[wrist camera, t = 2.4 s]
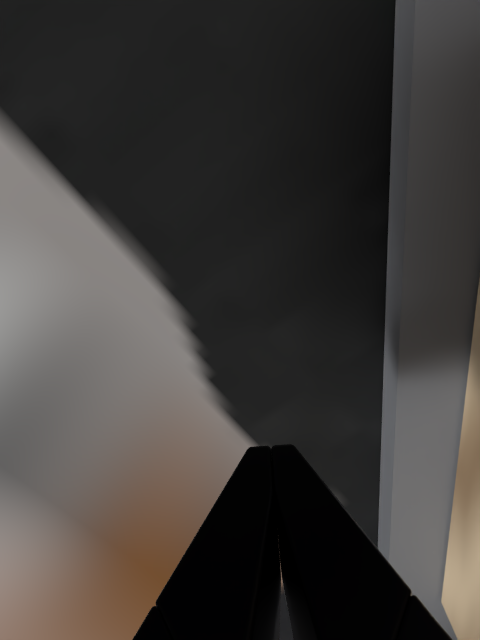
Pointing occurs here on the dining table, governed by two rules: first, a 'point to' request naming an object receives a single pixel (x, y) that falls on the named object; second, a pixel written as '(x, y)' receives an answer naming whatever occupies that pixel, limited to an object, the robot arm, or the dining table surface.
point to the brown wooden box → (466, 511)
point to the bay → (429, 284)
